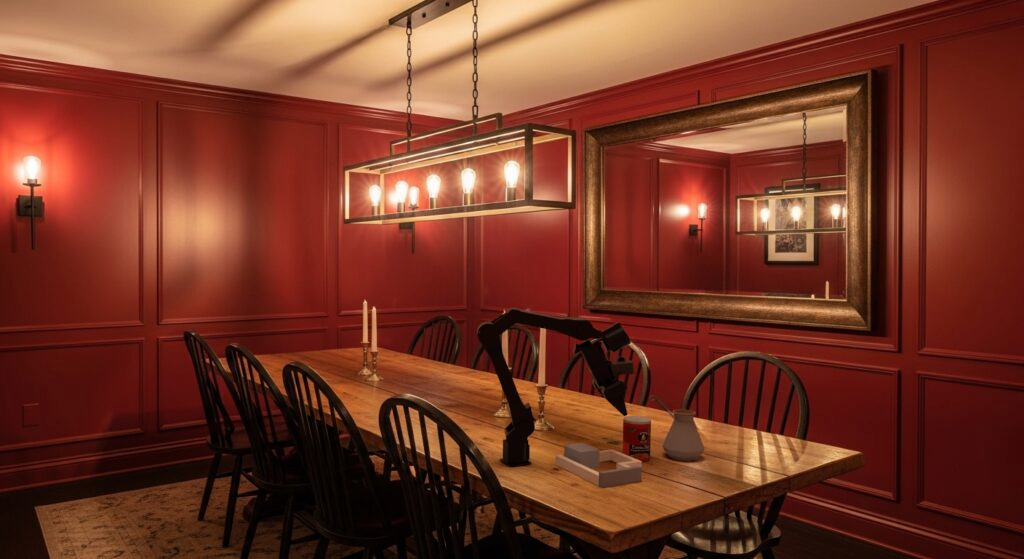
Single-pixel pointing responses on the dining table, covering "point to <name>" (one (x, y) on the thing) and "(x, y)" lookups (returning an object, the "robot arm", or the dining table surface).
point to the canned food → (637, 437)
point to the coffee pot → (682, 435)
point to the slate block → (583, 454)
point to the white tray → (623, 474)
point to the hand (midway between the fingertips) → (622, 411)
